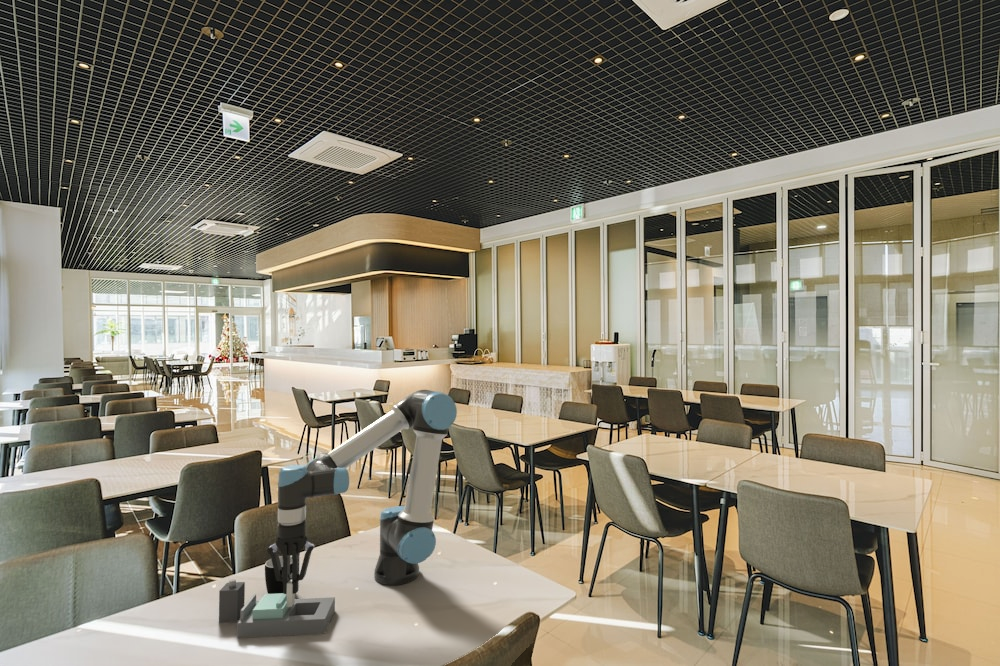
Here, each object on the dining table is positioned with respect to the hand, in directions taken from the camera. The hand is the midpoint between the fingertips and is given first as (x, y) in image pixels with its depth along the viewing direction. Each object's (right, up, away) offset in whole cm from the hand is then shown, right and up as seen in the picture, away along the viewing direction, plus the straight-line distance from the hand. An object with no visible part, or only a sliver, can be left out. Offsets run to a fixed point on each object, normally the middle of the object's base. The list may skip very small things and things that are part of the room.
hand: (290, 604), depth 143 cm
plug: (-18, -6, +3) cm, 19 cm away
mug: (-11, -6, +19) cm, 23 cm away
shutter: (-5, -1, -1) cm, 5 cm away
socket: (-1, -5, 0) cm, 5 cm away
